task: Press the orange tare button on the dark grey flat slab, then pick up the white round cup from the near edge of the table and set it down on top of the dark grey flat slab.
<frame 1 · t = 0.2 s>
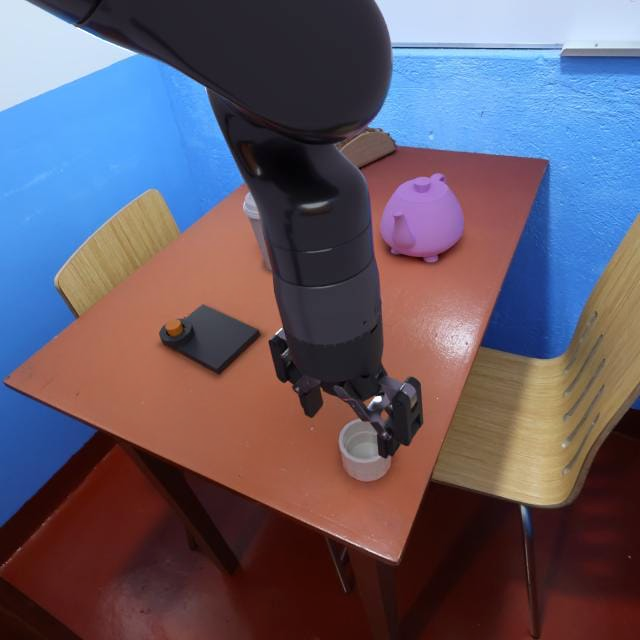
hand: (349, 429, 45), 15 cm above the table, tool pointing down, fingers open, 8 cm apart
taco: (353, 169, 121), on the table
tare button: (174, 327, 79), point 3 cm above the table, slide at 0.1 cm
teapot: (419, 248, 92), on the table
white round cup: (367, 461, 60), on the table
dark grey flat slab: (211, 339, 80), on the table
coffee cup: (282, 263, 94), on the table
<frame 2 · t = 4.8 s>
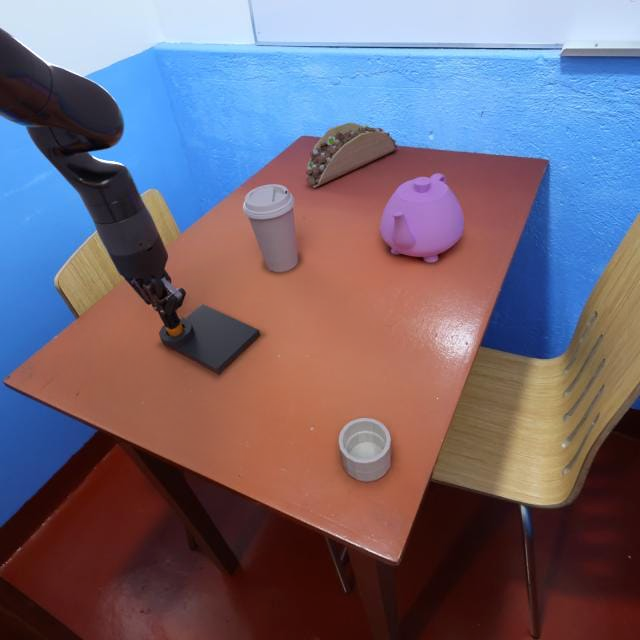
hand: (173, 325, 79), 4 cm above the table, tool pointing down, fingers closed
tare button: (175, 328, 79), point 3 cm above the table, slide at -0.2 cm, touching gripper
everything else where it was.
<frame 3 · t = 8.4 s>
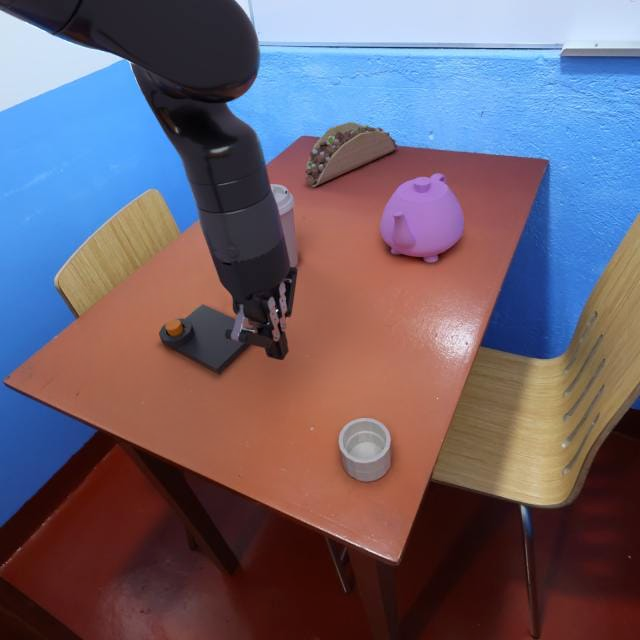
hand: (278, 354, 58), 13 cm above the table, tool pointing down, fingers closed
tare button: (174, 327, 79), point 3 cm above the table, slide at 0.1 cm
everything else where it was.
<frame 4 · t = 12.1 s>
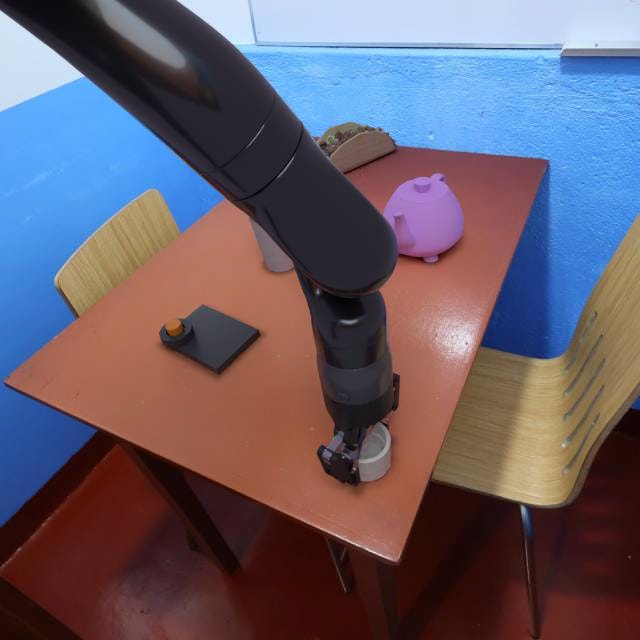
hand: (366, 458, 59), 1 cm above the table, tool pointing down, fingers closed on white round cup, 6 cm apart
white round cup: (367, 461, 60), on the table, touching gripper
everything else where it was.
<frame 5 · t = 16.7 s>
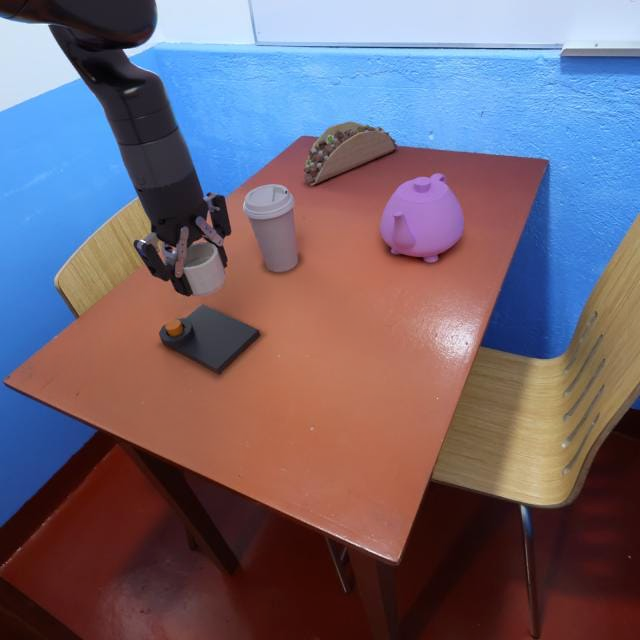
hand: (204, 279, 67), 15 cm above the table, tool pointing down, fingers closed on white round cup, 6 cm apart
white round cup: (205, 283, 67), point 15 cm above the table, touching gripper
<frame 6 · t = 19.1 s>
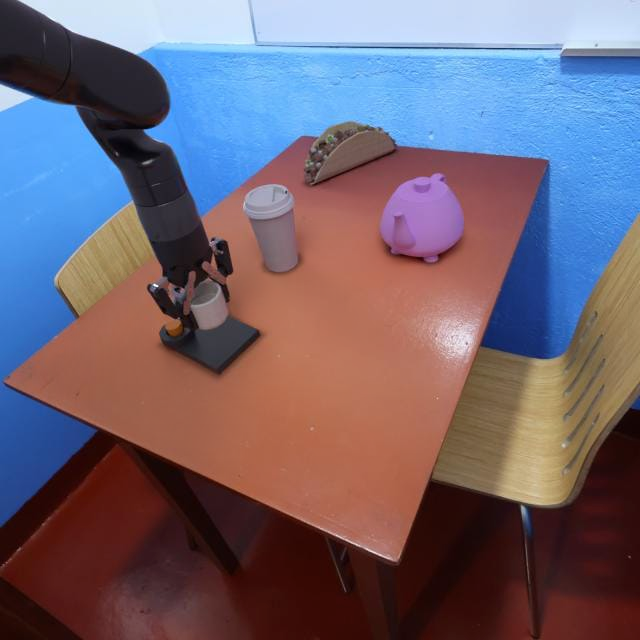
hand: (208, 314, 74), 7 cm above the table, tool pointing down, fingers closed on white round cup, 6 cm apart
white round cup: (210, 317, 75), point 6 cm above the table, touching gripper
when the fingers open (2 cm above the table, at t = 21.2 s): white round cup stays where it is, resting on dark grey flat slab.
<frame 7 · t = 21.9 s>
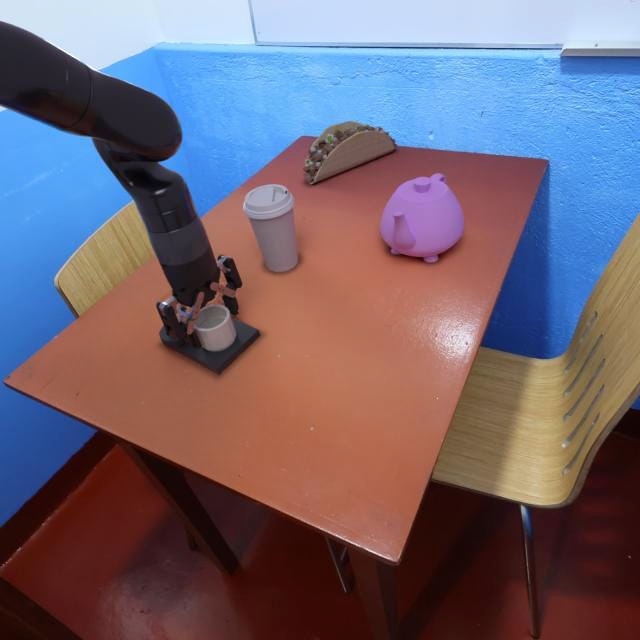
hand: (215, 329, 77), 4 cm above the table, tool pointing down, fingers open, 8 cm apart
white round cup: (219, 339, 78), point 1 cm above the table, touching dark grey flat slab
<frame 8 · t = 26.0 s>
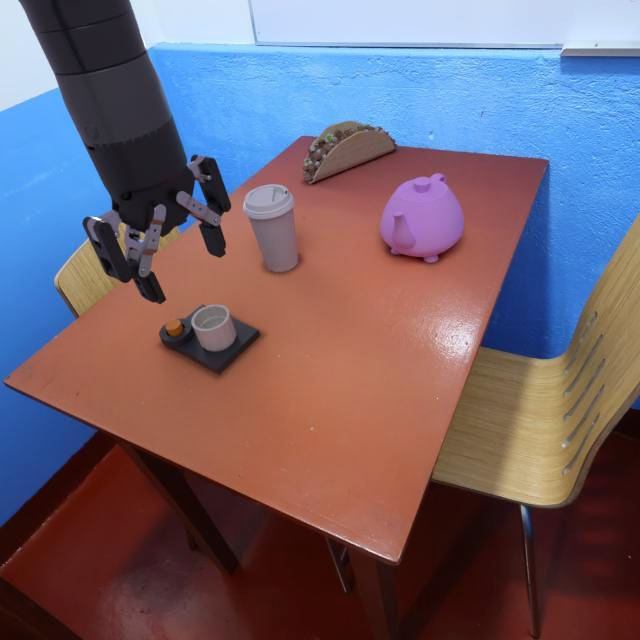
hand: (189, 276, 49), 26 cm above the table, tool pointing down, fingers open, 8 cm apart
at the end: tare button pushed in 0.9 cm at the most during the clip, back to where it started at the end; white round cup 0.0 cm from the target spot on the dark grey flat slab, point 1.4 cm above the dark grey flat slab's base; white round cup touching dark grey flat slab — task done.
